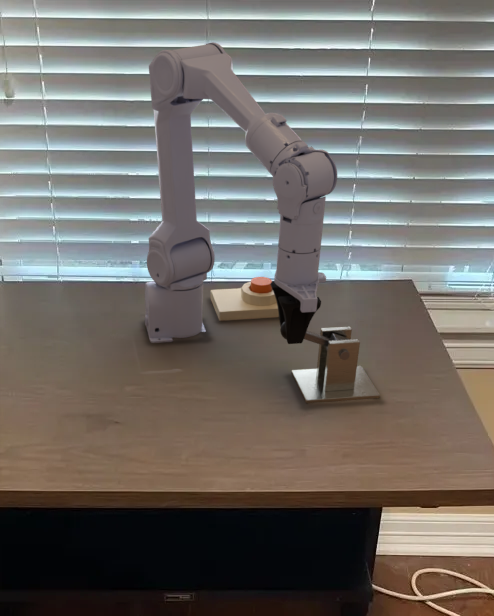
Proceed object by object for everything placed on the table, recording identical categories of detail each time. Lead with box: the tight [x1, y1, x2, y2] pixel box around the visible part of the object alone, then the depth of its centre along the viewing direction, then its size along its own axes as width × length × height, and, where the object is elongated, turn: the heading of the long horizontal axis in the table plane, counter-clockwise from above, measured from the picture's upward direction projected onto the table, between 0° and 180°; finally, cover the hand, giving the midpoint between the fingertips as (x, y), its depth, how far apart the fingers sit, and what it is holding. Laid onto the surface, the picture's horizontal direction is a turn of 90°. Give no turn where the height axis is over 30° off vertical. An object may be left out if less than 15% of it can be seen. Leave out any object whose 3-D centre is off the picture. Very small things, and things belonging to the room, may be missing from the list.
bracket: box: [290, 326, 381, 404], centre depth 135 cm, size 11×9×9 cm
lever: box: [279, 322, 349, 350], centre depth 132 cm, size 11×3×3 cm, turn 98°
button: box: [250, 276, 273, 293], centre depth 158 cm, size 4×4×2 cm
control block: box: [209, 281, 279, 322], centre depth 159 cm, size 12×9×4 cm
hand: (291, 337), depth 131 cm, fingers closed on lever, 3 cm apart
